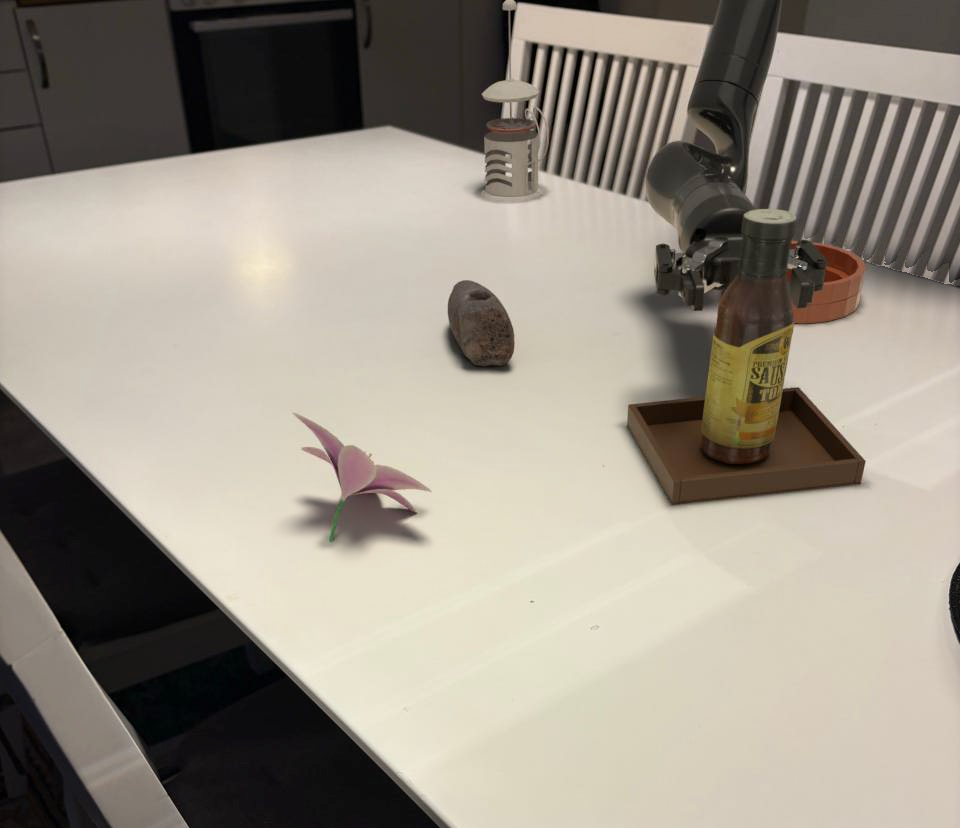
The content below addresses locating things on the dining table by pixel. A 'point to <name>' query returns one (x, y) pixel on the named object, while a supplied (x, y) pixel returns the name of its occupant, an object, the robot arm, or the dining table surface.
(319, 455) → the lily
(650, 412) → the tray
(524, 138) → the french press
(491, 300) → the perforated stone tool
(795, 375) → the dining table surface
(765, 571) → the dining table surface
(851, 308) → the bowl
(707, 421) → the sauce bottle
